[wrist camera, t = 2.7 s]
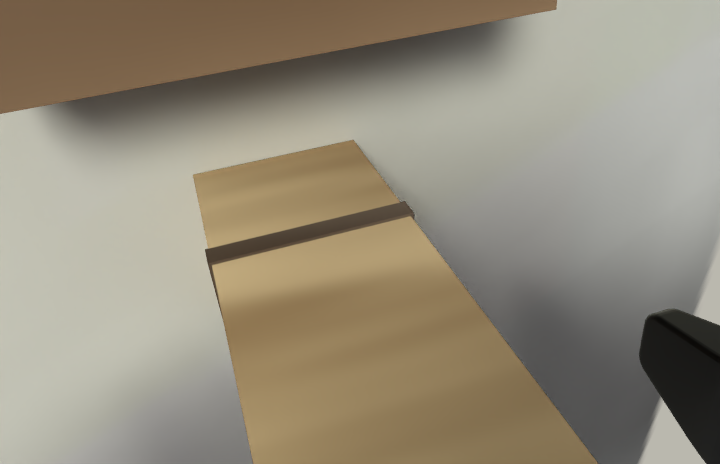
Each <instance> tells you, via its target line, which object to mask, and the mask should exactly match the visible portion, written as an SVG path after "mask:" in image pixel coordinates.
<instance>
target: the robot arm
mask: <svg viewBox="0 0 720 464" xmlns="http://www.w3.org/2000/svg"><path fill="white" fill-rule="evenodd" d="M639 357H640V362H641V365H642V367H643V369H644V371H645V373H646V374H647V376H648V377H649V379H650V380H651V382H652V383H653V385H654V386H655V388H656V390H657V391H658V393H659V394H660V396H661V397H662V399H663V400H664V402H665V403H666V405H667V406H668V408H669V409H670V411H671V413H672V414H673V416H674V417H675V419H676V420H677V422H678V423H679V425H680V426H681V428H682V429H683V431H684V433H685V434H686V436H687V437H688V439H689V440H690V442H691V443H692V445H693V446H694V447H695V449H696V450H697V452H698V453H699V455H700V456H701V457H702V459H703V460H704V461H705V463H706V464H720V326H719V325H717V324H714V323H712V322H709V321H707V320H704V319H701V318H699V317H696V316H693V315H691V314H688V313H685V312H683V311H680V310H677V309H666V310H663V311H660V312H656V313H653V314H651V315H649V316H648V317H647V318H646V320H645V324H644V329H643V335H642V340H641V345H640V351H639Z"/></svg>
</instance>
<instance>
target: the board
mask: <svg viewBox="0 0 720 464" xmlns="http://www.w3.org/2000/svg"><path fill="white" fill-rule="evenodd" d="M556 6H557V0H0V114H2V113H8V112H13V111H18V110H24V109H29V108H34V107H39V106H45V105H50V104H55V103H61V102H66V101H71V100H77V99H82V98H87V97H93V96H98V95H103V94H109V93H114V92H119V91H125V90H130V89H135V88H141V87H146V86H151V85H157V84H162V83H167V82H173V81H178V80H183V79H189V78H194V77H199V76H205V75H210V74H215V73H220V72H226V71H231V70H236V69H242V68H247V67H252V66H258V65H263V64H268V63H274V62H279V61H284V60H290V59H295V58H300V57H306V56H311V55H316V54H322V53H327V52H332V51H338V50H343V49H348V48H354V47H359V46H364V45H370V44H375V43H380V42H386V41H391V40H396V39H401V38H407V37H412V36H417V35H423V34H428V33H433V32H439V31H444V30H449V29H455V28H460V27H465V26H471V25H476V24H481V23H487V22H492V21H497V20H503V19H508V18H513V17H519V16H524V15H529V14H535V13H540V12H545V11H551V10H556Z"/></svg>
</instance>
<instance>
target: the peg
mask: <svg viewBox="0 0 720 464" xmlns="http://www.w3.org/2000/svg"><path fill="white" fill-rule="evenodd" d="M193 178H194V182H195V187H196V192H197V197H198V202H199V206H200V211H201V216H202V221H203V225H204V230H205V235H206V240H207V245H208V249H205V252H206V257H207V262H208V266H209V270H210V274H211V277H212V281H213V285H214V288H215V292H216V296H217V300H218V303H219V307H220V311H221V314H222V318H223V322H224V326H225V331H226V336H227V340H228V345H229V350H230V355H231V359H232V364H233V369H234V374H235V379H236V383H237V388H238V393H239V398H240V403H241V407H242V412H243V417H244V422H245V426H246V431H247V436H248V441H249V446H250V450H251V455H252V460H253V464H598V463H597V461H596V460H595V459H594V457H593V456H592V455H591V453H590V452H589V451H588V449H587V448H586V447H585V445H584V444H583V443H582V441H581V440H580V439H579V437H578V436H577V435H576V433H575V432H574V431H573V430H572V428H571V427H570V426H569V424H568V423H567V422H566V420H565V419H564V418H563V416H562V415H561V414H560V412H559V411H558V410H557V408H556V407H555V406H554V404H553V403H552V402H551V400H550V399H549V398H548V397H547V395H546V394H545V393H544V391H543V390H542V389H541V387H540V386H539V385H538V383H537V382H536V381H535V379H534V378H533V377H532V375H531V374H530V373H529V371H528V370H527V369H526V367H525V366H524V365H523V364H522V362H521V361H520V360H519V358H518V357H517V356H516V354H515V353H514V352H513V350H512V349H511V348H510V346H509V345H508V344H507V342H506V341H505V340H504V338H503V337H502V336H501V334H500V333H499V332H498V331H497V329H496V328H495V327H494V325H493V324H492V323H491V321H490V320H489V319H488V317H487V316H486V315H485V313H484V312H483V311H482V309H481V308H480V307H479V305H478V304H477V303H476V301H475V300H474V299H473V298H472V296H471V295H470V294H469V292H468V291H467V290H466V288H465V287H464V286H463V284H462V283H461V282H460V280H459V279H458V278H457V276H456V275H455V274H454V272H453V271H452V270H451V268H450V267H449V266H448V264H447V263H446V262H445V261H444V259H443V258H442V257H441V255H440V254H439V253H438V251H437V250H436V249H435V247H434V246H433V245H432V243H431V242H430V241H429V239H428V238H427V237H426V235H425V234H424V233H423V231H422V230H421V229H420V228H419V226H418V225H417V224H416V222H415V221H414V213H413V211H412V210H411V209H410V207H409V206H408V205H407V204H406V202H405V201H404V202H400V201H399V200H398V198H397V197H396V196H395V195H394V193H393V192H392V191H391V189H390V188H389V187H388V185H387V184H386V183H385V181H384V180H383V179H382V177H381V176H380V175H379V173H378V172H377V171H376V169H375V168H374V167H373V165H372V164H371V163H370V162H369V160H368V159H367V158H366V156H365V155H364V154H363V152H362V151H361V150H360V148H359V147H358V146H357V144H356V143H355V142H354V140H351V141H346V142H342V143H337V144H332V145H328V146H323V147H319V148H314V149H310V150H305V151H300V152H296V153H291V154H287V155H282V156H277V157H273V158H268V159H264V160H259V161H254V162H250V163H245V164H241V165H236V166H231V167H227V168H222V169H218V170H213V171H208V172H204V173H199V174H195V175H193Z"/></svg>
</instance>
